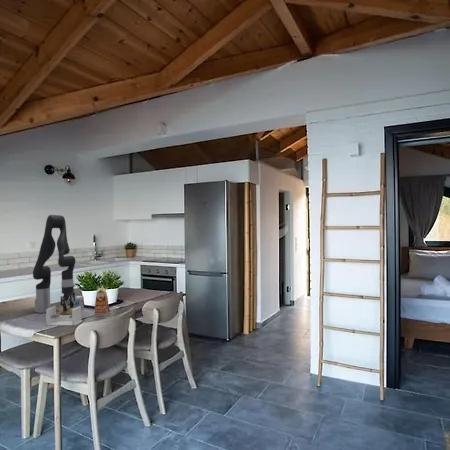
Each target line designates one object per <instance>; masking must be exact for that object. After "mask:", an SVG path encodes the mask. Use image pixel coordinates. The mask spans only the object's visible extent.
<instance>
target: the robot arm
mask: <svg viewBox="0 0 450 450" xmlns="http://www.w3.org/2000/svg"><path fill="white" fill-rule="evenodd" d="M66 223H67V222H66V220H65V216H63V215H58V214H57V215H56V214H49V215H48V216H47V218H46V222H45V227H44V233H43V234H44V235H43V238H42V241H41V245H40V247H39V253H38V256H37V259H36V262H35V265H34V268H33V270H32V277H33V279H34V280H37V281H39V280H41V281H40V282H38V283H37V284H35V298H34V313H38V314H40V313H41V314H43V313H46V309H49V308H51V282H52V281H51V278H52V277H51V276H52V271H51V268H50V266H48V265H45V263H46V262H47V261H48V260H49V259H50V258H51V257H52V256H53V254H54V253H55V249H56V247H57V252H58V259H57V262H58V266H59V267H60V268H65V267H67V269H64V270H62V271H61V285H60V286H61V294H62V295H63V296H62V295H61V296H60V306H62V308H63V311H67V303H68V301H69V302H70V308H73V303H74V301H75V296H76V292H75V289H74V288H75V286H74V285H75V283H74V282H75V281H74V268H75V265H76V259H75V256H74V255H68V254H69V253H70V249H71V248H70V246H69V243H68V236H67V224H66ZM53 229H59V232H60V233H59V235H58V238H57V240H56V241H55V239H54V236H53V235H52V234H53V233H52V232H53ZM73 298H74V299H73Z"/></svg>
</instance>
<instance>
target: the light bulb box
mask: <svg viewBox="0 0 450 450" xmlns="http://www.w3.org/2000/svg"><path fill="white" fill-rule="evenodd" d="M73 299H74V298H73ZM84 301H85V299H84V295H75V301H74V303H73V308H77V307H79V306H81V312H83V311H84V305H85V304H84ZM66 306H67V308H70V302H69V301H68V303H67V305H66Z"/></svg>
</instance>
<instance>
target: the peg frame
mask: <svg viewBox="0 0 450 450" xmlns="http://www.w3.org/2000/svg"><path fill="white" fill-rule="evenodd" d="M56 309H57V306H56V305H53V306H52V307H51V306H50V308H49V309H46V312H45V313H46V319H45V320H46V324H45V326H77V325H79V324H81V323H82V322H83V320H82V311H81V306H79V307H77V308H75V309H72V315H60V314H56Z"/></svg>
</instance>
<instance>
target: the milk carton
mask: <svg viewBox="0 0 450 450" xmlns="http://www.w3.org/2000/svg"><path fill="white" fill-rule="evenodd" d="M110 313H111V310H110V305H109V298H108V293H107V289H106V288H105V287H104V285H101V287H100V288H98V290H97V291H96V295H95V303H94V314H93V315H94V316H98V317H99V316H101V317H102V316H108V315H109V314H110Z"/></svg>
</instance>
